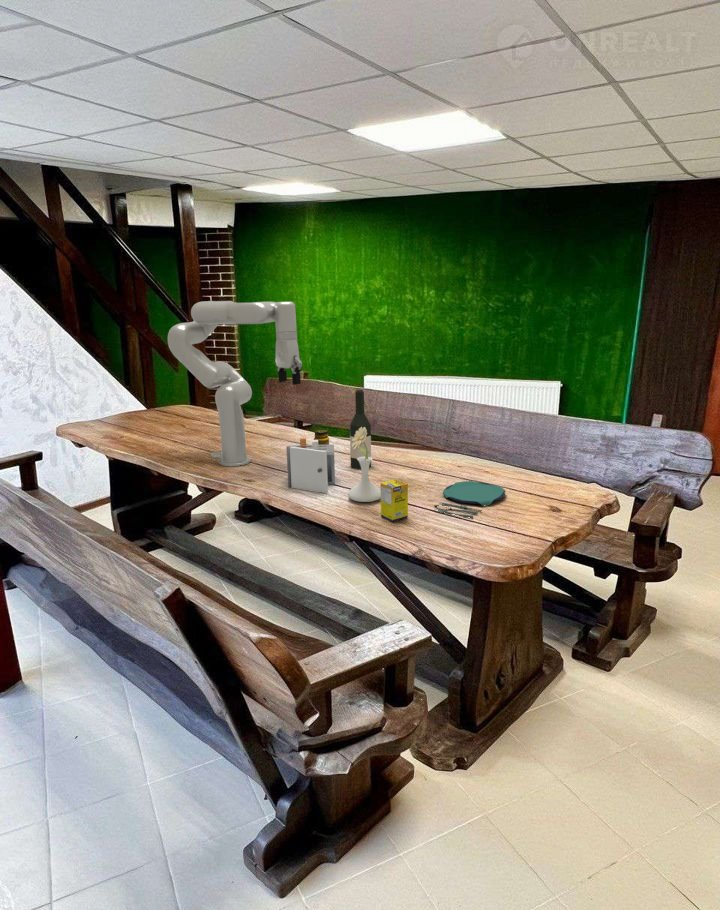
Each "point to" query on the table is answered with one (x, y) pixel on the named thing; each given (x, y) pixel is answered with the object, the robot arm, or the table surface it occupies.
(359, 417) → the wine bottle
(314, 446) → the fader
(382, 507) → the supplement box
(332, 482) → the white slider console
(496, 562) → the table surface
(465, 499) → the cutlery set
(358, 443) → the flower in vase
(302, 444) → the fader
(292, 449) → the door
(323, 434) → the condiment
